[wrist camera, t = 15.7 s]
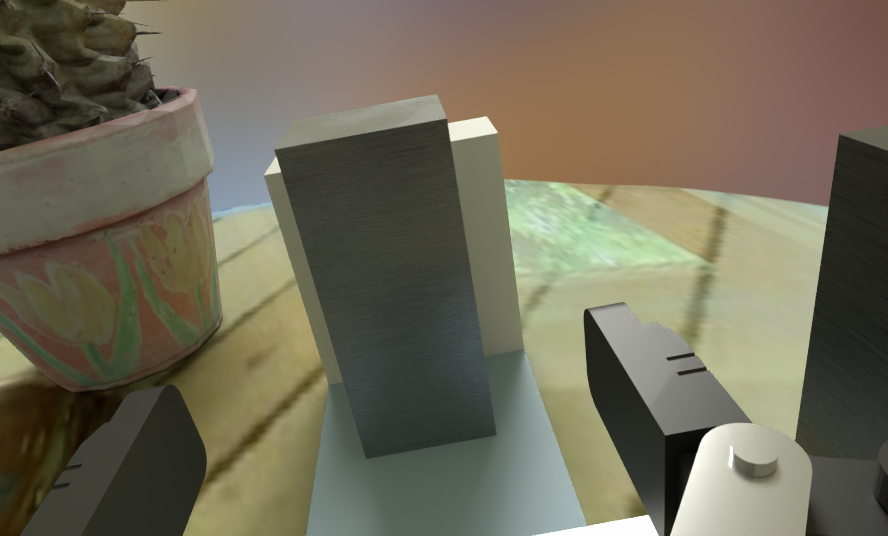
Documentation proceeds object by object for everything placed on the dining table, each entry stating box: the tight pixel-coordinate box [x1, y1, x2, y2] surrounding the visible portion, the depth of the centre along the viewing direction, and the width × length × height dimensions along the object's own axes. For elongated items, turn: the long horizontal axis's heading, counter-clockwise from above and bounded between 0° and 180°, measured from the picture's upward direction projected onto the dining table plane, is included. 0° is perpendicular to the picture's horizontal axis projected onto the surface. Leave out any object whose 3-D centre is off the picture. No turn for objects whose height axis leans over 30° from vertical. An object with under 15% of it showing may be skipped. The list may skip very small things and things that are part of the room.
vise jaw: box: [538, 125, 888, 536], centre depth 12 cm, size 16×3×12 cm, turn 95°
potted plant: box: [0, 0, 222, 392], centre depth 30 cm, size 18×20×25 cm
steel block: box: [275, 94, 497, 459], centre depth 21 cm, size 5×4×12 cm
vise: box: [264, 117, 588, 536], centre depth 17 cm, size 9×22×11 cm, turn 5°
